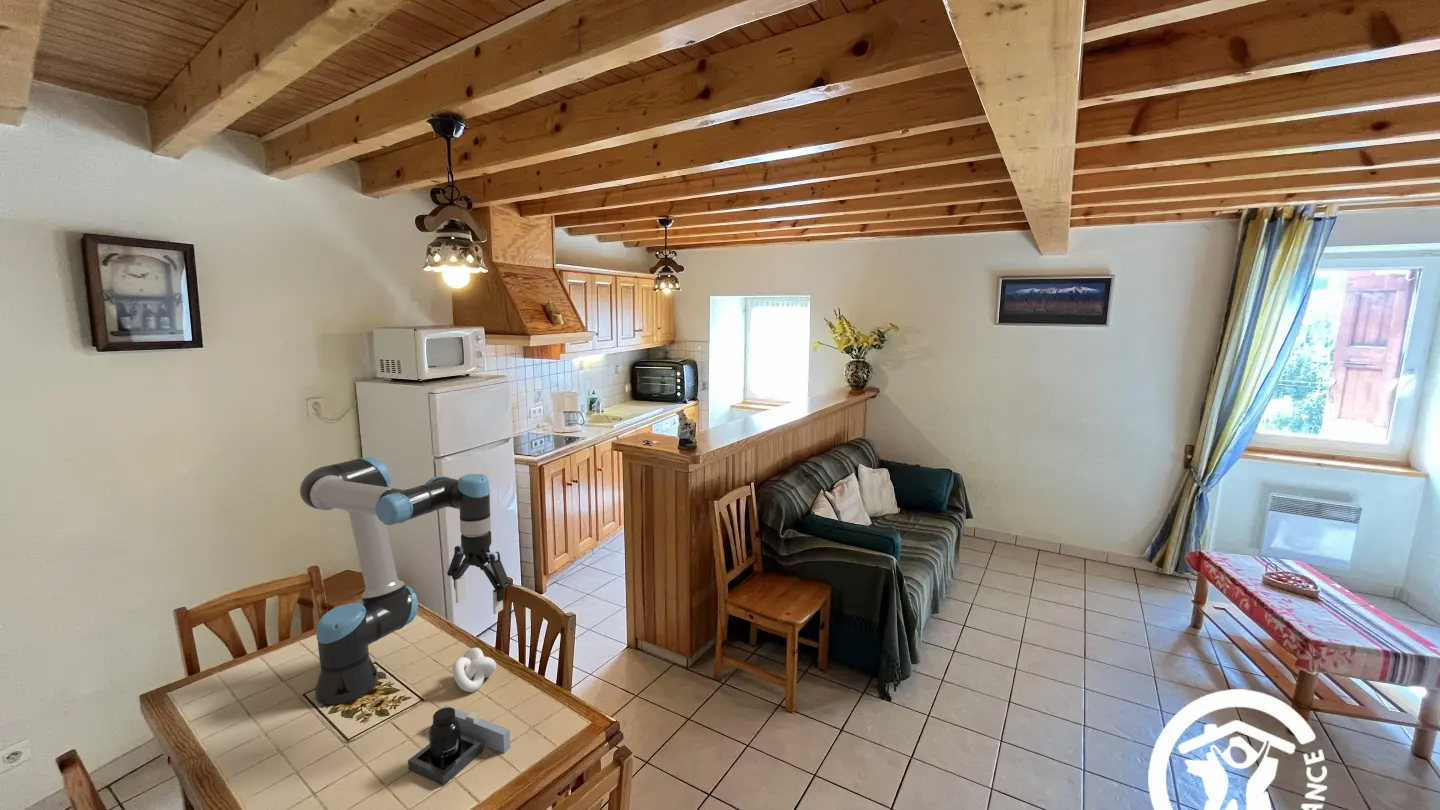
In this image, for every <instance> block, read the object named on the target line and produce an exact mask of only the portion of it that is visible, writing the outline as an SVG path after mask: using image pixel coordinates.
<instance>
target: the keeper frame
mask: <svg viewBox="0 0 1440 810" xmlns="http://www.w3.org/2000/svg"><path fill="white" fill-rule="evenodd" d="M483 746H484V745H483V744H482V742H480V741H478V740H475V739H473V738H470V737H468V736H465V735H463V734H461V756H460V757H459V758H458V759H457V760H455V761H454V762H453V763H452V764H451V765H450V766H448V767H446V768H437V767H434V766H432V764H431V761H430V743H428V744H427V745H426V746H424V747H423V748H421V750H420V751H418V752H416V754H414V755H413V756H412V757H410V758H409V759H408V760H407V766H408V771H411V772H412V773H414V774H416V775H419V776H421V777H423V778H425V779H427V780H429V781H431V782H434V783H436V784H438V785H440V786H443V787H444V786H446V784H448V783H449V782H450V781H452V780H453V778H454V777H455V776H457V775H458V774H459V773H460V772H462V771H463V770H464V769H465V768H466V767H467V766H468V765H469V764H471V763H472V762H473V761H474V760H476V759H477V757H478V756H479V755H481V754H482V753H483V752H484V751H483V750H484V747H483Z"/></svg>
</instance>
